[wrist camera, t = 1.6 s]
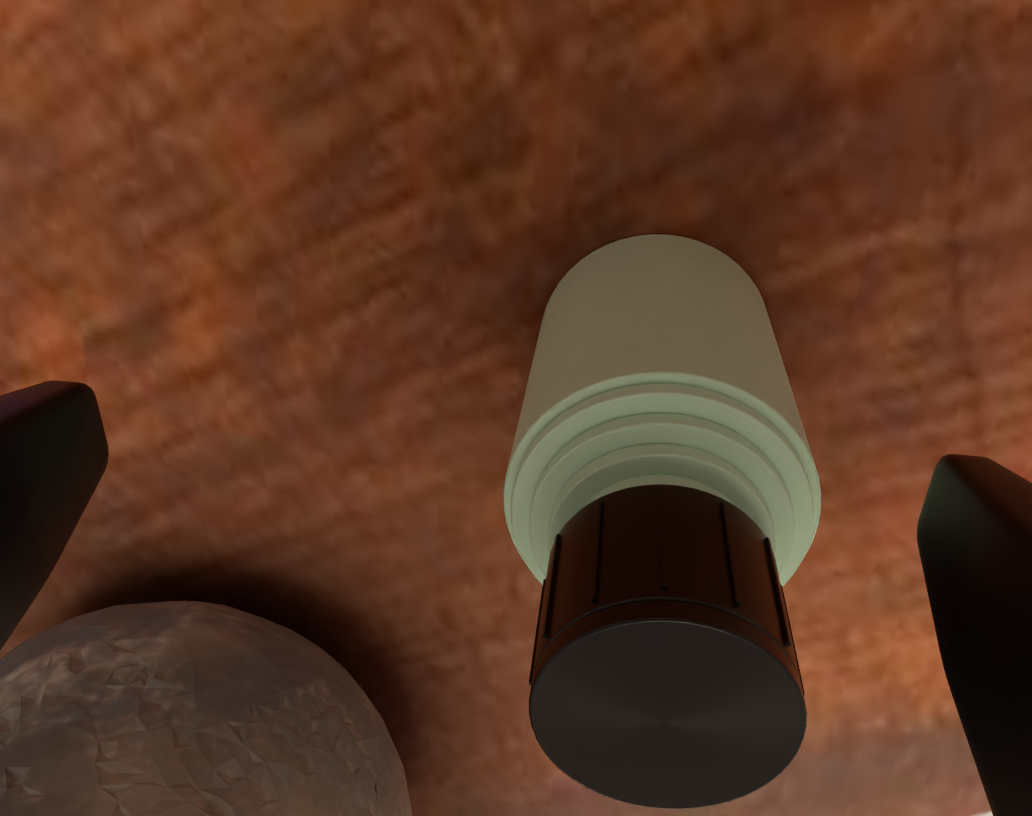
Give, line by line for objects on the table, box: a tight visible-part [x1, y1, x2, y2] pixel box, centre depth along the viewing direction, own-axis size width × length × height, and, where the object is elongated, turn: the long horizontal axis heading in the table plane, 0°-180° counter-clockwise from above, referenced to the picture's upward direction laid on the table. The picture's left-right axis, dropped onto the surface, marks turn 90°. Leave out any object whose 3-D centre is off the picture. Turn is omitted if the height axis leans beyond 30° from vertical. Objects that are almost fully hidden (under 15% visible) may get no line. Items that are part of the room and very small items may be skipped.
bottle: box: [503, 234, 821, 587], centre depth 18 cm, size 6×6×12 cm
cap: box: [529, 484, 807, 809], centre depth 14 cm, size 4×4×3 cm
